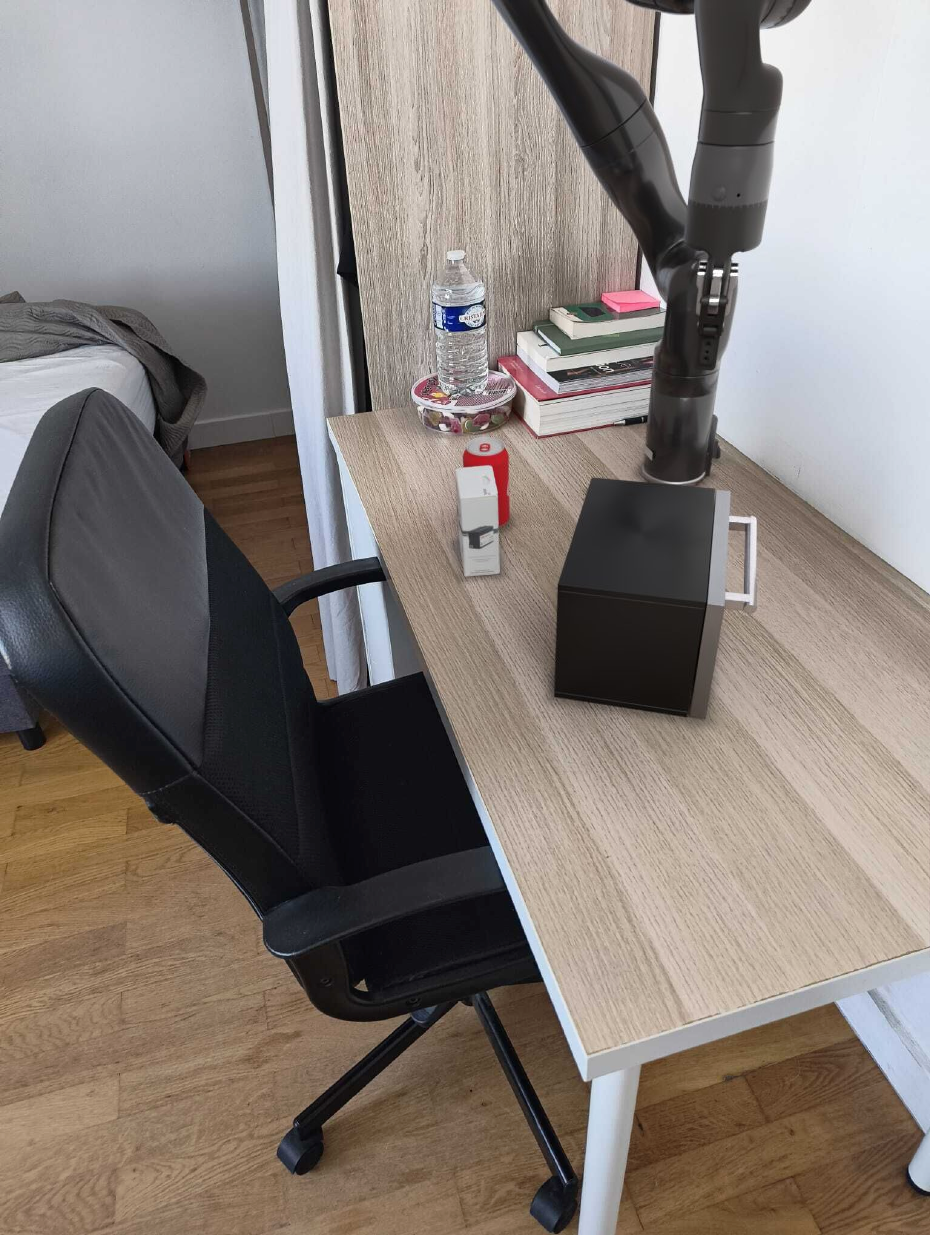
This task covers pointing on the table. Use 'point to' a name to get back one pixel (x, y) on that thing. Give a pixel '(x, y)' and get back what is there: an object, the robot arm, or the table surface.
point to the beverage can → (496, 456)
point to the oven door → (722, 594)
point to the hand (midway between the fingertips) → (704, 367)
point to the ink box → (478, 520)
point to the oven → (634, 596)
